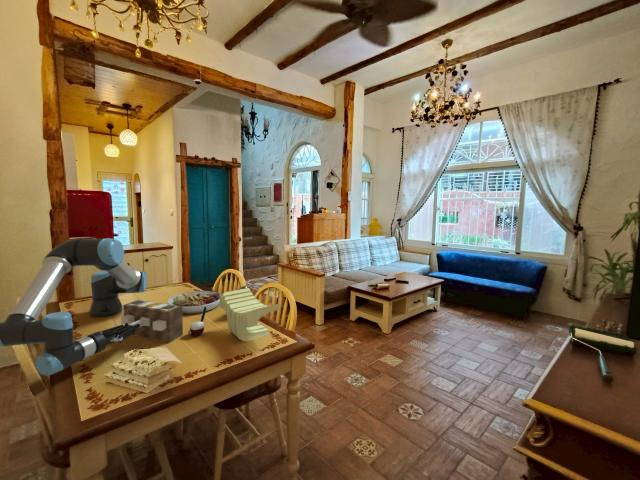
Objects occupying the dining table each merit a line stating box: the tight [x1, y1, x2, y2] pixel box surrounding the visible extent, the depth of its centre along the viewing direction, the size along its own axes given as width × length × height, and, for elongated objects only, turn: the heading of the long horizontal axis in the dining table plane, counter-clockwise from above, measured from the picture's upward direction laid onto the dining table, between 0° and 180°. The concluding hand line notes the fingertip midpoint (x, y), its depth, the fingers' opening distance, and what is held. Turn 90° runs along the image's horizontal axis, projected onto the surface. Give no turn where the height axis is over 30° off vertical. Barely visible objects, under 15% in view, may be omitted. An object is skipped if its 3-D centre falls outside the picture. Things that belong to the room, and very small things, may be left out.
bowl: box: [166, 290, 222, 315], centre depth 179 cm, size 30×30×8 cm
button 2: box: [153, 320, 167, 331], centre depth 132 cm, size 4×3×3 cm
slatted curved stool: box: [219, 287, 281, 342], centre depth 143 cm, size 30×16×18 cm, turn 41°
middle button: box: [140, 317, 151, 326], centre depth 136 cm, size 4×3×3 cm
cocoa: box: [187, 307, 207, 337], centre depth 141 cm, size 10×6×12 cm, turn 125°
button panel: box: [122, 299, 184, 343], centre depth 139 cm, size 26×8×15 cm, turn 74°
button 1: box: [120, 314, 135, 325], centre depth 137 cm, size 4×3×3 cm
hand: (143, 322), depth 134 cm, fingers closed
